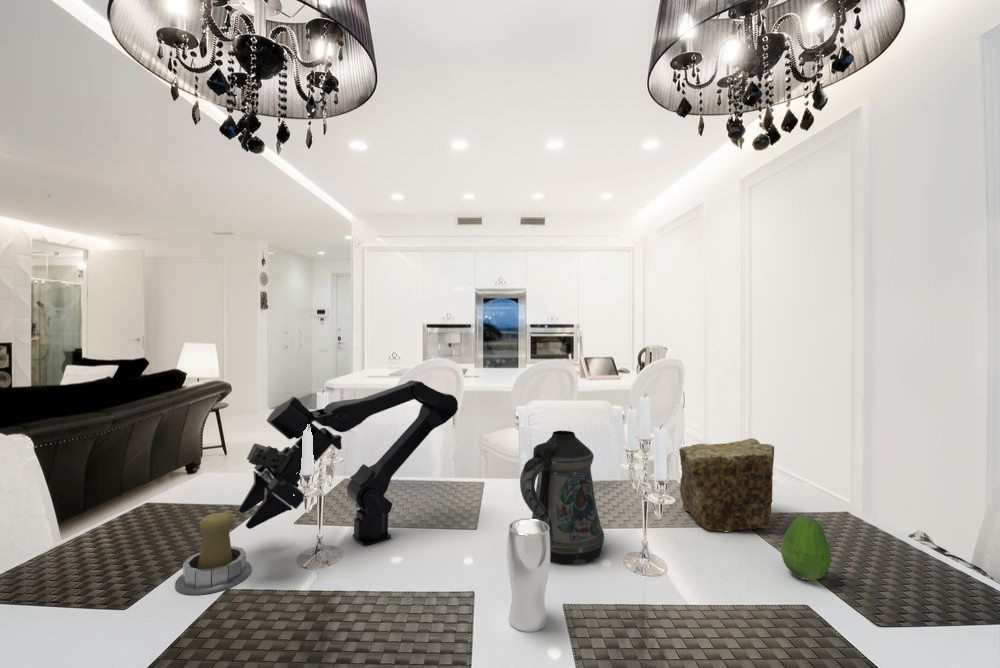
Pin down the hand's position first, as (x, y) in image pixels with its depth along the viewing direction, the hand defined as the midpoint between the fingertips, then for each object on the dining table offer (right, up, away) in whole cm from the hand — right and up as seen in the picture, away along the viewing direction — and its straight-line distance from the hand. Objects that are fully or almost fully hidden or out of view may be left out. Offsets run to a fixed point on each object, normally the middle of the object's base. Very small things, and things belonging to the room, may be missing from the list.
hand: (243, 519), depth 88 cm
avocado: (+108, -12, +1) cm, 108 cm away
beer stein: (+62, -11, +10) cm, 64 cm away
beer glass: (+53, -11, -14) cm, 56 cm away
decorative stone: (+106, -12, +29) cm, 110 cm away
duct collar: (-4, -10, -3) cm, 11 cm away
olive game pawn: (-4, -9, -3) cm, 10 cm away
